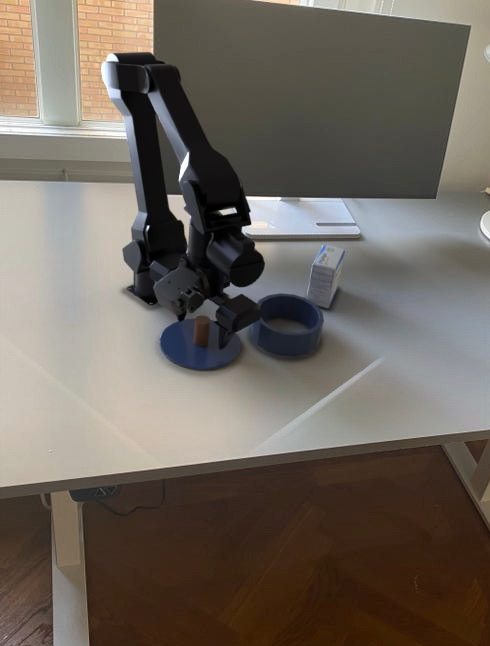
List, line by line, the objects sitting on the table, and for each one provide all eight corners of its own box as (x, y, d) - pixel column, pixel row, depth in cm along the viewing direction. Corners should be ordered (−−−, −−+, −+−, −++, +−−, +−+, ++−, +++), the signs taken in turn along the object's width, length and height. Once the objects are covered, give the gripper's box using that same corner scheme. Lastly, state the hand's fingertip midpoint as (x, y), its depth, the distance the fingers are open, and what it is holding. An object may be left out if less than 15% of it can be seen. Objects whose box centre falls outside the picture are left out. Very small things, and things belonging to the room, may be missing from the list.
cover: (142, 343, 114) (142, 315, 111) (201, 314, 123) (203, 287, 120) (199, 384, 109) (201, 356, 106) (256, 350, 118) (260, 323, 115)
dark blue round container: (236, 333, 121) (239, 309, 118) (282, 308, 129) (286, 285, 126) (288, 368, 116) (293, 344, 113) (332, 340, 124) (337, 317, 121)
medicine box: (328, 309, 131) (336, 270, 126) (304, 303, 131) (312, 263, 126) (337, 288, 138) (346, 249, 132) (315, 281, 138) (322, 242, 132)
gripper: (120, 239, 103) (121, 325, 112) (213, 299, 96) (205, 386, 106) (179, 217, 111) (175, 300, 120) (269, 272, 104) (257, 355, 113)
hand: (201, 334), depth 115 cm, fingers open, 9 cm apart
